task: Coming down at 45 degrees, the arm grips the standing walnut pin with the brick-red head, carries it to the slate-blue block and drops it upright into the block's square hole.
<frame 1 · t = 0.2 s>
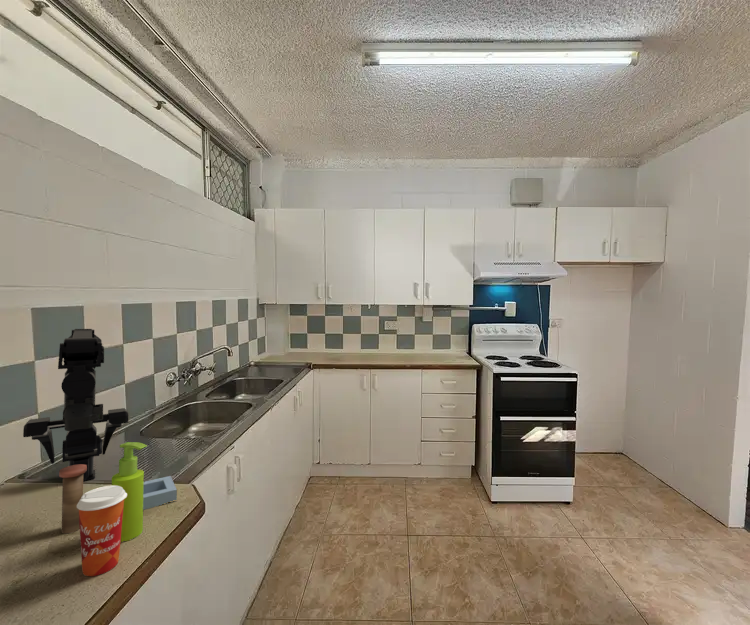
hand: (79, 458, 86), 15 cm above the countertop, tool pointing down, fingers open, 9 cm apart
soap dispenser: (128, 535, 81), on the countertop
paper cup: (101, 567, 71), on the countertop
hole block: (151, 498, 97), on the countertop
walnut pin: (72, 528, 83), on the countertop
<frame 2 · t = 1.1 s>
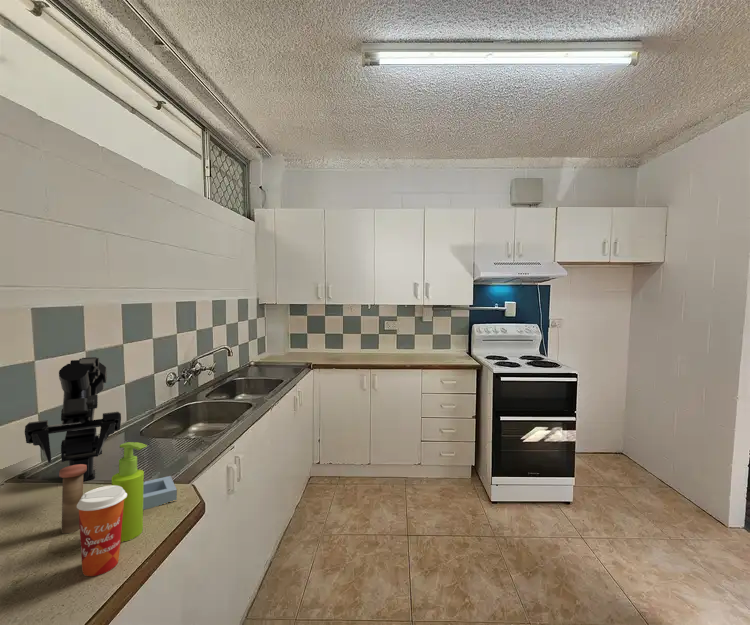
hand: (74, 457, 89), 13 cm above the countertop, tool tilted 45°, fingers open, 9 cm apart
nothing on the countertop moved.
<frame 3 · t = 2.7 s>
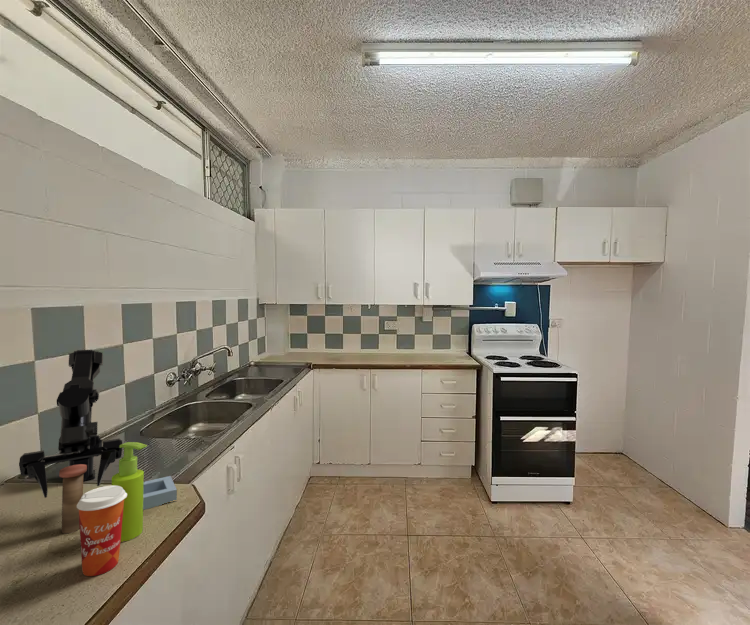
hand: (72, 490, 83), 8 cm above the countertop, tool tilted 45°, fingers open, 9 cm apart
nothing on the countertop moved.
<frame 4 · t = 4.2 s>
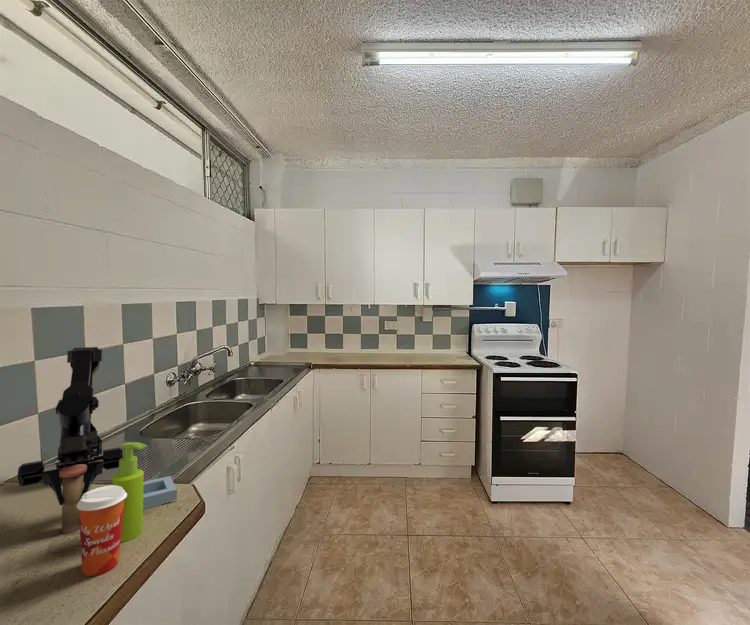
hand: (72, 501, 82), 7 cm above the countertop, tool tilted 45°, fingers closed on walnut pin, 4 cm apart
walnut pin: (72, 528, 83), on the countertop, touching gripper
everything else where it was.
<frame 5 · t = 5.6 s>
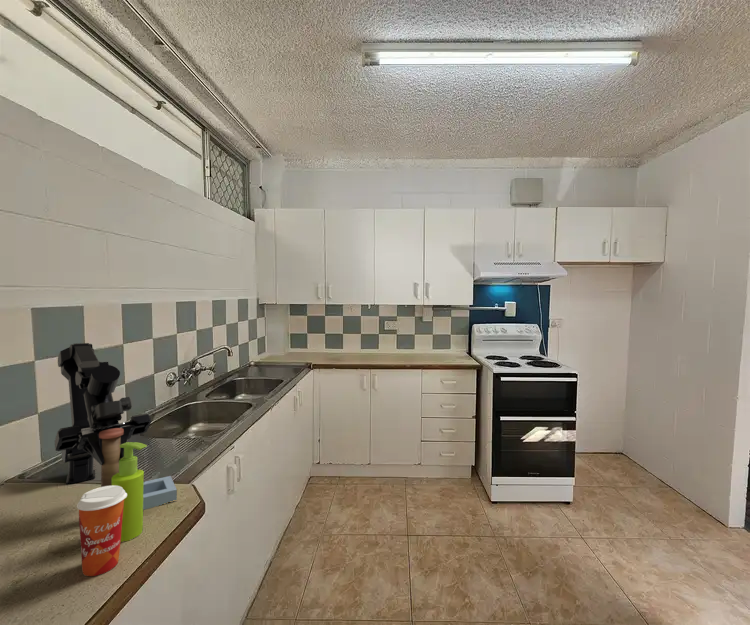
hand: (112, 461, 87), 13 cm above the countertop, tool tilted 45°, fingers closed on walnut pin, 4 cm apart
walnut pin: (110, 487, 88), point 7 cm above the countertop, touching gripper
everything else where it was.
when the fingers open (10 cm above the countertop, at t = 7.1 s): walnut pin drops 3 cm, resting in hole block.
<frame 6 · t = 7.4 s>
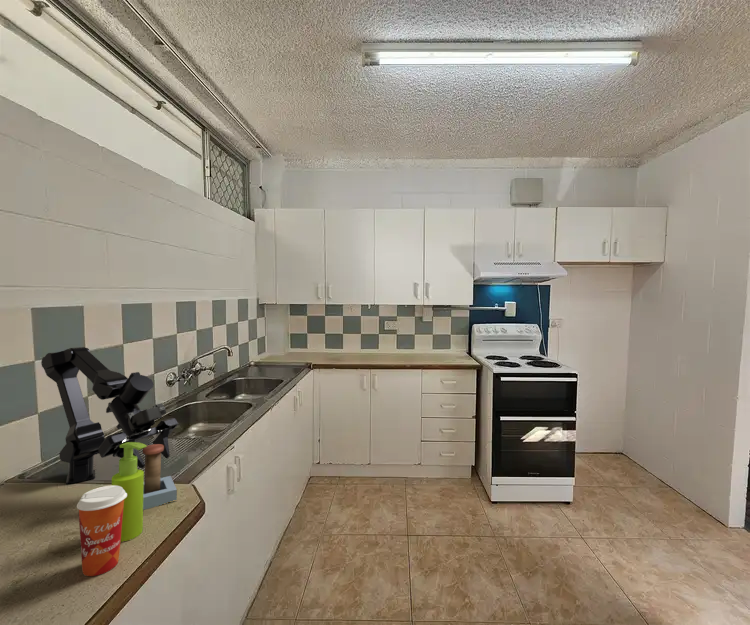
hand: (156, 462, 96), 10 cm above the countertop, tool tilted 45°, fingers open, 7 cm apart
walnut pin: (152, 498, 97), resting in hole block
everything else where it was.
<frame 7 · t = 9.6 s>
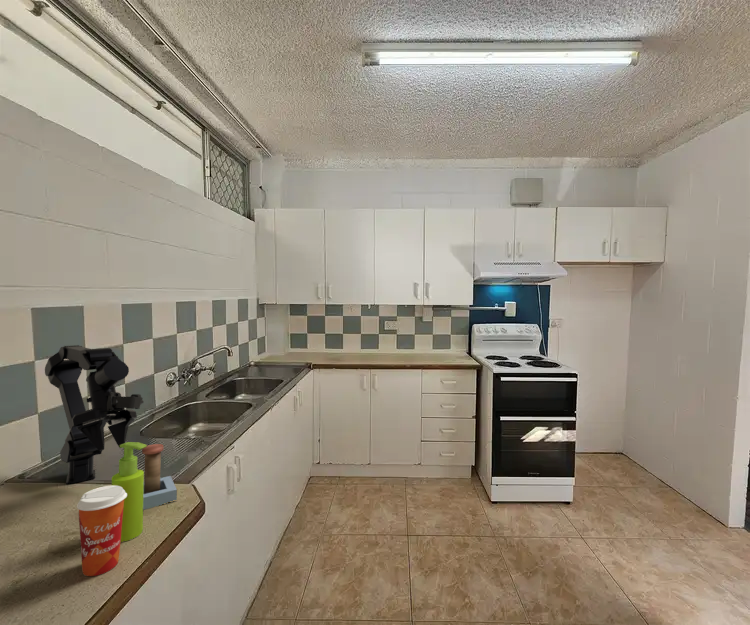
hand: (112, 448, 97), 13 cm above the countertop, tool tilted 25°, fingers open, 9 cm apart
nothing on the countertop moved.
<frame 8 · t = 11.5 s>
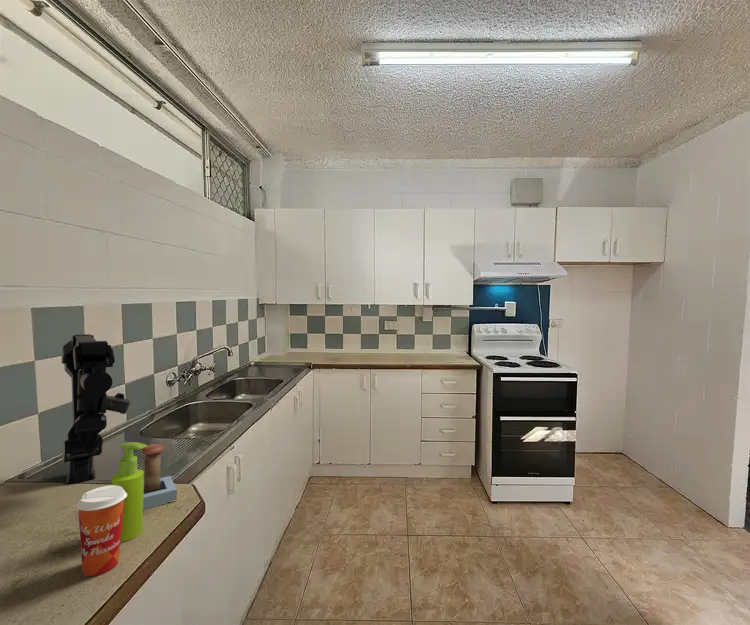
hand: (90, 448, 97), 13 cm above the countertop, tool pointing down, fingers open, 9 cm apart
nothing on the countertop moved.
at the end: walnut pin 0.0 cm off-centre on the hole block, point 0.0 cm above the hole block's base; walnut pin tilted 0°; the gripper is holding nothing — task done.
